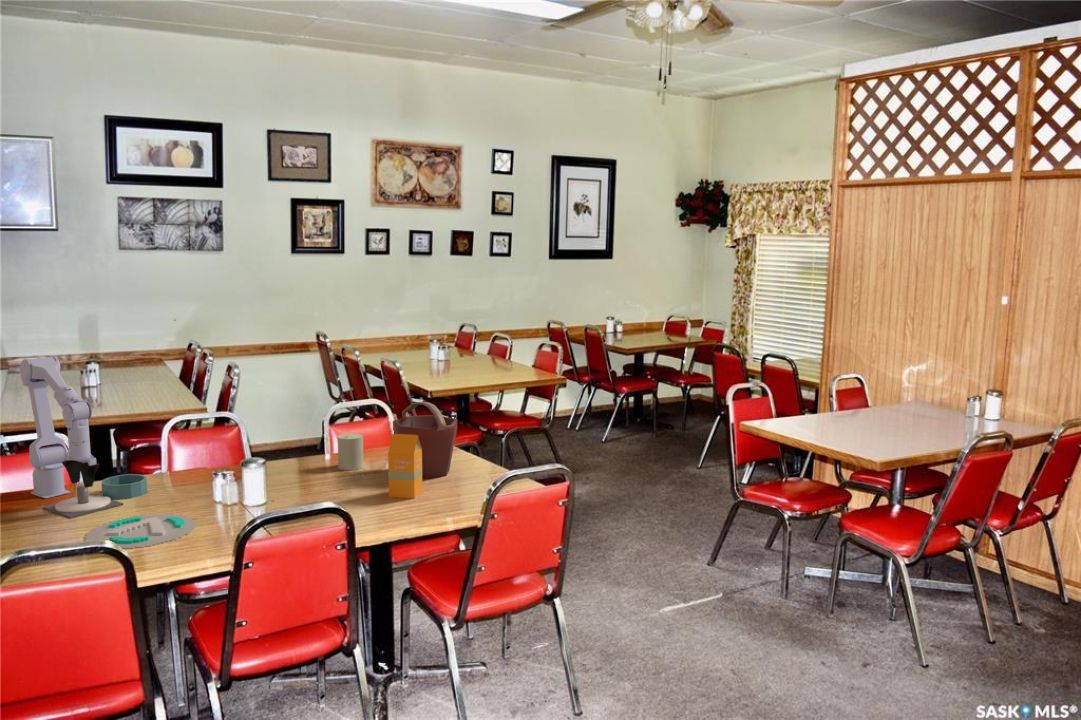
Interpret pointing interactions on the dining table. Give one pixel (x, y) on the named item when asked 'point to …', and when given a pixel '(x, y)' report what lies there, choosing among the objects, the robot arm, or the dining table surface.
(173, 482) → the dining table surface
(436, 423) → the bucket
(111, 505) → the mat
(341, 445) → the can
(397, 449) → the orange juice
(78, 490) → the lid
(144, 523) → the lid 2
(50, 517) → the dining table surface
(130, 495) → the bowl
